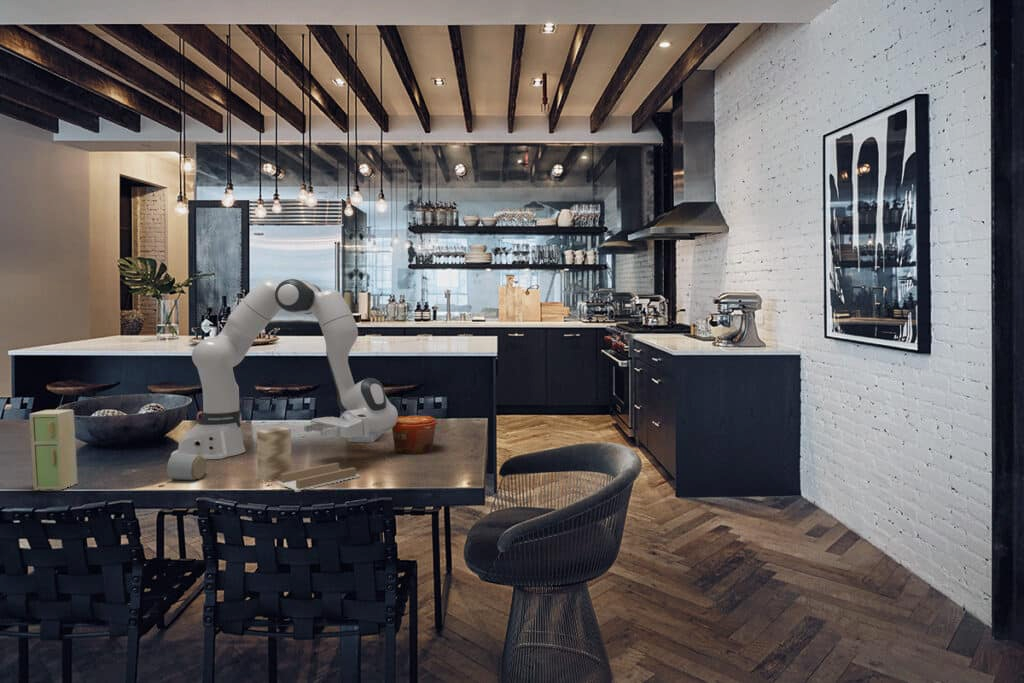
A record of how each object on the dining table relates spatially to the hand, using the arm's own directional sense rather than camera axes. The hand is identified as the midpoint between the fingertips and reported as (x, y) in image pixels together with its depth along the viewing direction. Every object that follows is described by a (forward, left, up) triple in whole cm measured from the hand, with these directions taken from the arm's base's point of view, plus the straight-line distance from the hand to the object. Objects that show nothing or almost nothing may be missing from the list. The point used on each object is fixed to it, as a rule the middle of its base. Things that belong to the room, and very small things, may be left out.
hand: (313, 430), depth 199 cm
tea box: (+19, +42, -12) cm, 48 cm away
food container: (+33, +18, -12) cm, 40 cm away
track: (+1, -13, -12) cm, 18 cm away
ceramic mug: (-34, +1, -12) cm, 37 cm away
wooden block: (-11, -6, -12) cm, 17 cm away
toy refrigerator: (-68, +1, -12) cm, 69 cm away
